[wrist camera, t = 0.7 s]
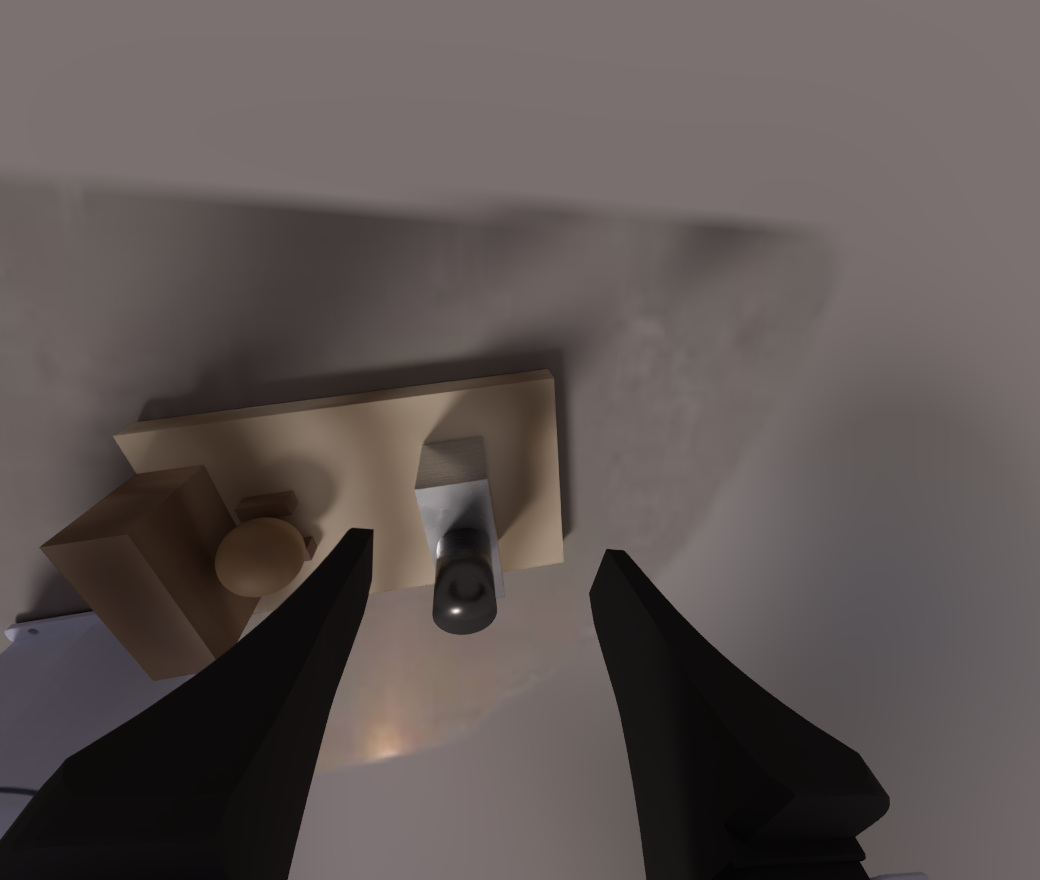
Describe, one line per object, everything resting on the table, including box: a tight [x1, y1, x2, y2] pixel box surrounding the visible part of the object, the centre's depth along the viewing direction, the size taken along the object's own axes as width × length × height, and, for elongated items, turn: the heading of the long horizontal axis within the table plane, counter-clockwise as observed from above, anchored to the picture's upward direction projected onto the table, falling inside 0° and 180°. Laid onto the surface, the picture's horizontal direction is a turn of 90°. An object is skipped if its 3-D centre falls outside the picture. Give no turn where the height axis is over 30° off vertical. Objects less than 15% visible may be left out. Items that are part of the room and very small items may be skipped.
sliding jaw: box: [414, 436, 505, 635], centre depth 19 cm, size 3×7×8 cm, turn 5°
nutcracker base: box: [39, 369, 564, 681], centre depth 20 cm, size 20×12×6 cm, turn 95°
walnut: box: [215, 517, 306, 597], centre depth 19 cm, size 4×4×4 cm
